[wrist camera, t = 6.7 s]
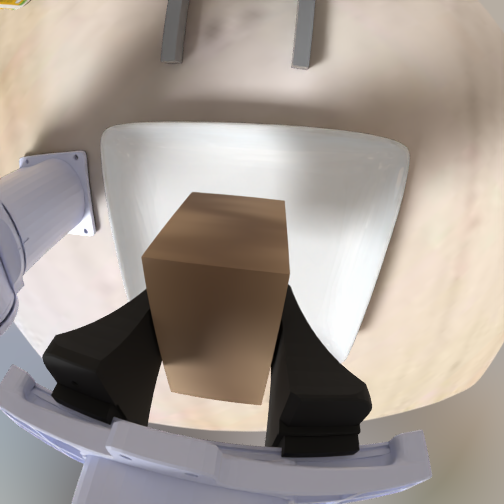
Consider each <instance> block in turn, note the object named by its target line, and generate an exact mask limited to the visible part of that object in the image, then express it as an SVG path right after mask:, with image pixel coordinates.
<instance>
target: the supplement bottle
mask: <svg viewBox="0 0 504 504" xmlns="http://www.w3.org/2000/svg"><path fill="white" fill-rule="evenodd" d="M29 1H30V0H0V9H11V10H15V9H19V8H21V7H23V6H24V5H26V4H27V3H28V2H29Z"/></svg>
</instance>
